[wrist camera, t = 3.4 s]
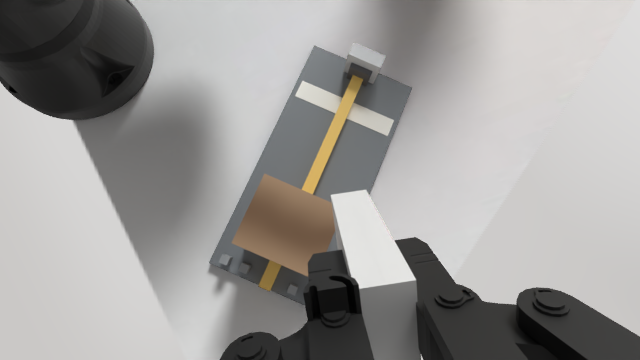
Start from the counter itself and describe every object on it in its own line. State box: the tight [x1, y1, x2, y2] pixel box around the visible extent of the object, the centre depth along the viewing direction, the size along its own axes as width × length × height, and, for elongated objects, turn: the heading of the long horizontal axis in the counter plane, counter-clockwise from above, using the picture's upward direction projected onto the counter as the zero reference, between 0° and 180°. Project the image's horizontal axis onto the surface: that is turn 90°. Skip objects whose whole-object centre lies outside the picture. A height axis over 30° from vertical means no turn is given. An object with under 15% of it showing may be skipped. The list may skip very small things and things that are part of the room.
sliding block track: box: [209, 42, 412, 305], centre depth 36 cm, size 26×12×4 cm, turn 157°
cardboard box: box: [232, 174, 335, 277], centre depth 32 cm, size 6×7×8 cm
